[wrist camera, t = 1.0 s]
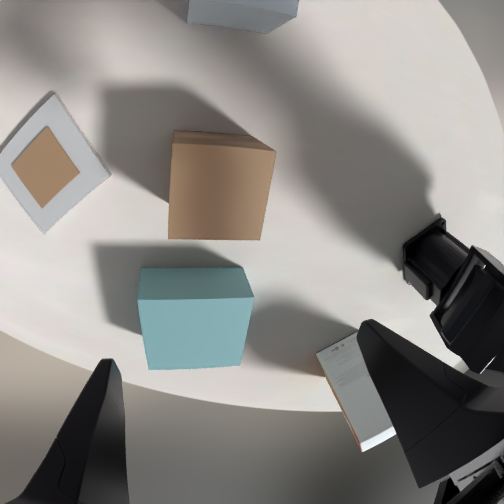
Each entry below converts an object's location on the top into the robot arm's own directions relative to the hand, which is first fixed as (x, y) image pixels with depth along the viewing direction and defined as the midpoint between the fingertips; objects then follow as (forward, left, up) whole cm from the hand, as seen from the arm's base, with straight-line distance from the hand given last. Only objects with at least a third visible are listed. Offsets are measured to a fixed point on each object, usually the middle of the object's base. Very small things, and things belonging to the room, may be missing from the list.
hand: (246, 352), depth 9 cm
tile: (+7, -9, -12) cm, 17 cm away
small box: (-4, +27, -12) cm, 30 cm away
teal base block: (+6, +7, -13) cm, 16 cm away
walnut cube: (-2, -2, -12) cm, 13 cm away
